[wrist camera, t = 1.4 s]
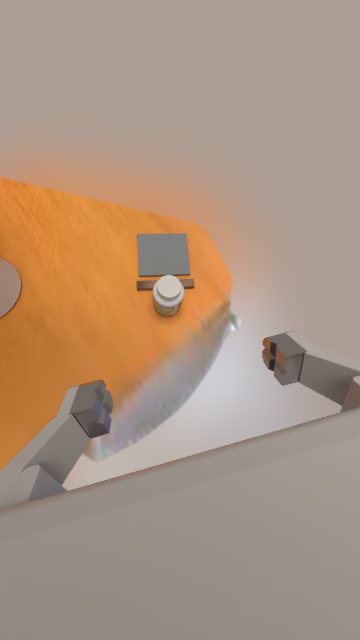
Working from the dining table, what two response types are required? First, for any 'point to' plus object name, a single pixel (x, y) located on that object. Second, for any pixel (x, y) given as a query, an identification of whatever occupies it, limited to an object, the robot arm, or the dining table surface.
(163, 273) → the felt tile
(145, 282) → the strip
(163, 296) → the supplement bottle
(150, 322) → the dining table surface
